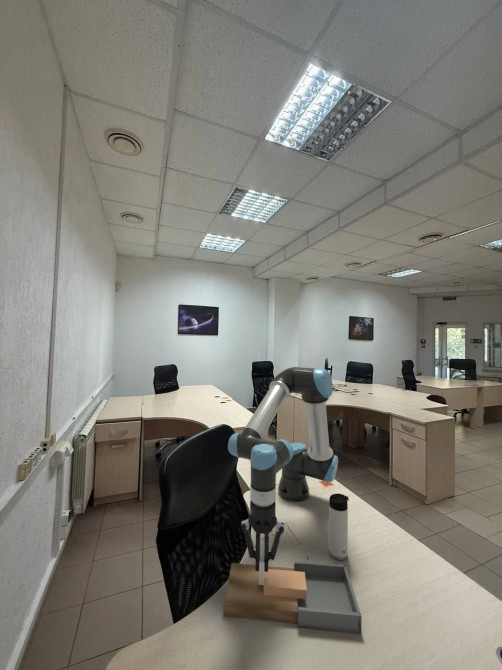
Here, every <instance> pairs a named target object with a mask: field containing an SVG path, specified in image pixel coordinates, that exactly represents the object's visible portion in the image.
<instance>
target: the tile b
mask: <svg viewBox="0 0 502 670" xmlns="http://www.w3.org/2000/svg"><path fill="white" fill-rule="evenodd" d="M285 597H289V598H299V599H307V587H306V579H305V572H298V571H288V570H285Z"/></svg>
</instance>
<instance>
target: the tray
mask: <svg viewBox="0 0 502 670" xmlns="http://www.w3.org/2000/svg"><path fill="white" fill-rule="evenodd" d="M293 564H294V565H293V568H294V569H295V571H298V572H305V579H306V587H307V599H299V598H297V604H298V623H297V627H298V628H301V629H310V630H321V631H327V632H328V631H330V632H340V633H348V634H361V635H362V613H361V609H360V607H359V602H358V600H357V598H356V593H355V591H354V586H353V584H352V580H351V578H350V575H349V571H348V568H347V566H346V564H337V563H323V562H311V561H310V562H309V561H300V560H299V561H298V560H294V561H293Z"/></svg>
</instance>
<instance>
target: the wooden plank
mask: <svg viewBox="0 0 502 670" xmlns="http://www.w3.org/2000/svg"><path fill="white" fill-rule="evenodd" d="M268 569H275V570H288V571H295V569H294V567H282V566H272V565H270V566H269V565H268ZM228 575H229V576H228V580H227V585H226V591H225V597H224V601H223V617H230V618H231V617H232V618H241V619H250V620H251V619H252V620H258V621H259V620H260V621H271V622H280V623H289V624H290V623H291V624H298V604H297V598H289V597H278V596H267V595H264V585H259V571H256V569H255V564H249V563H248V564H247V563H246V564H245V563H236V562H235V563H233V562H231V566H230V571H229V574H228Z"/></svg>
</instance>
